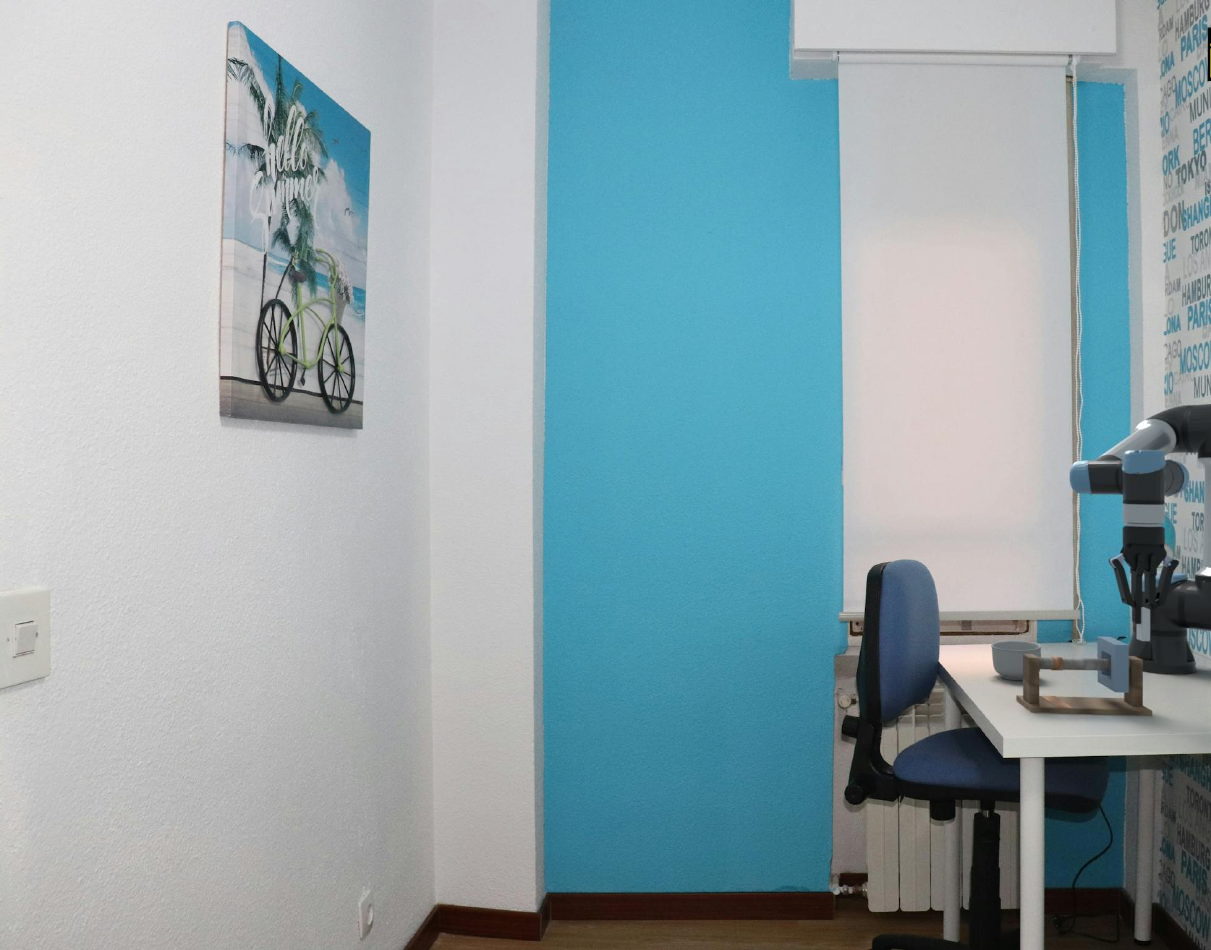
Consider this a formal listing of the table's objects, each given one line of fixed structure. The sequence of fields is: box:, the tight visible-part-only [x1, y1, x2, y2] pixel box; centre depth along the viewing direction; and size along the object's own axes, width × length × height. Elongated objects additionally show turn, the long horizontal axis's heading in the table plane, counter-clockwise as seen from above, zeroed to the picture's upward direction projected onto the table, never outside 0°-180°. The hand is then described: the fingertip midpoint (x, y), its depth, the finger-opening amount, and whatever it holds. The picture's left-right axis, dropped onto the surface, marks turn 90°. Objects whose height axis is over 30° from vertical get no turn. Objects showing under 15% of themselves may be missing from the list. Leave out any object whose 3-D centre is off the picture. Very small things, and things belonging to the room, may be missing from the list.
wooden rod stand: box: [1015, 654, 1153, 717], centre depth 192 cm, size 23×10×10 cm, turn 82°
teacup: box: [990, 639, 1042, 681], centre depth 221 cm, size 14×11×8 cm
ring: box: [1096, 636, 1129, 694], centre depth 192 cm, size 2×9×10 cm, turn 172°
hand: (1143, 639), depth 191 cm, fingers closed
